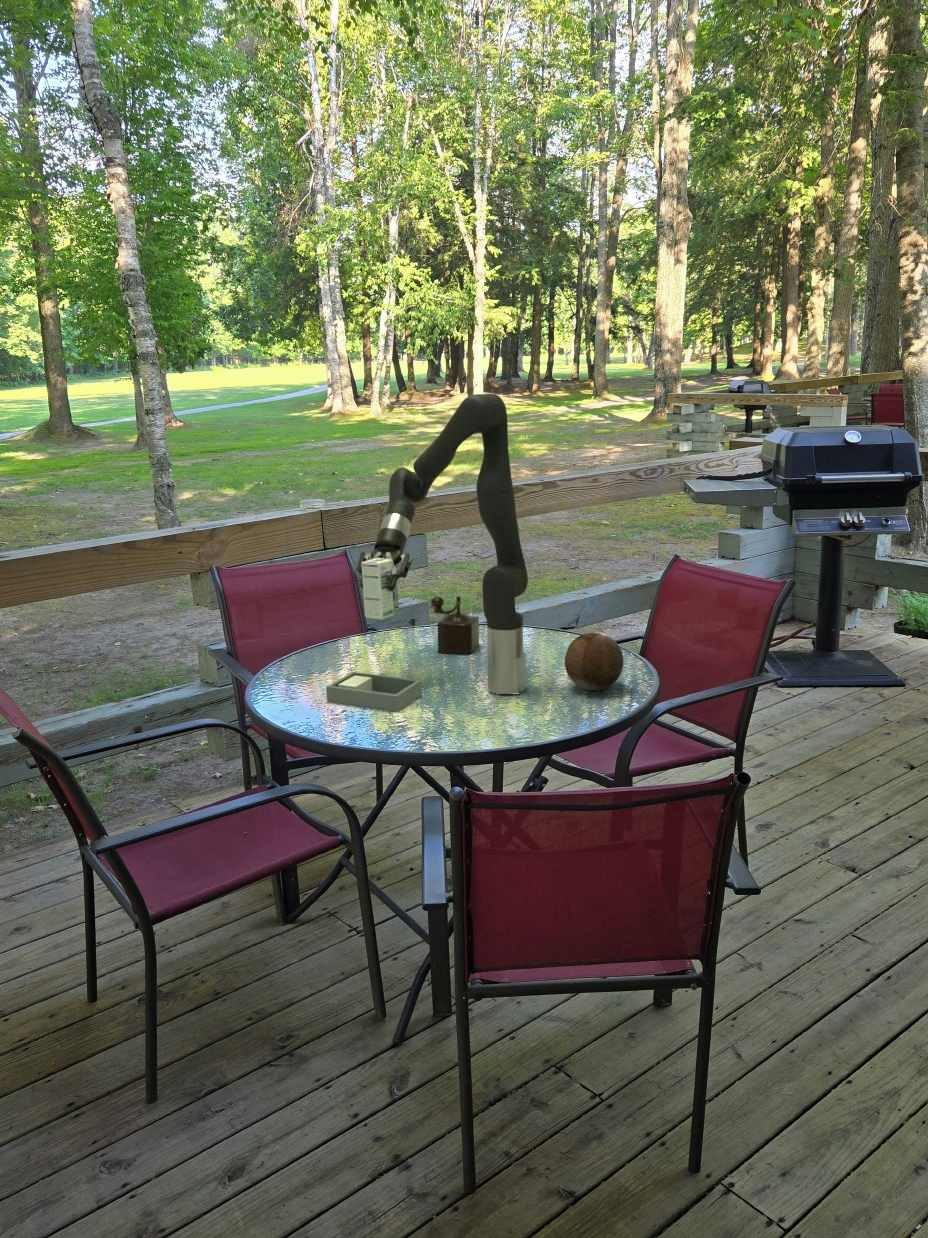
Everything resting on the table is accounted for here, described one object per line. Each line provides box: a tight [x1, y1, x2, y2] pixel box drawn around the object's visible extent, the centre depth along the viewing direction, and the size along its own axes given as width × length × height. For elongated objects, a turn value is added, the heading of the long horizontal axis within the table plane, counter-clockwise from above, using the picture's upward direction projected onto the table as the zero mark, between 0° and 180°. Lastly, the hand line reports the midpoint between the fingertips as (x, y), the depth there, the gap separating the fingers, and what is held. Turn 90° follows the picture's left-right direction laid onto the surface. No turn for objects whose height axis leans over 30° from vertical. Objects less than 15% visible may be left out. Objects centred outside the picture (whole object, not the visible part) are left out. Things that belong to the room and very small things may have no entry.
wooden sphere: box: [564, 631, 624, 691], centre depth 233 cm, size 15×15×15 cm
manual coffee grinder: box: [430, 595, 480, 656], centre depth 268 cm, size 16×11×18 cm
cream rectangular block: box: [338, 675, 372, 691], centre depth 229 cm, size 5×8×4 cm, turn 155°
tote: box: [325, 671, 423, 713], centre depth 227 cm, size 20×13×5 cm, turn 65°
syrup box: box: [361, 558, 397, 620], centre depth 227 cm, size 6×6×14 cm
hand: (376, 588), depth 226 cm, fingers closed on syrup box, 6 cm apart
